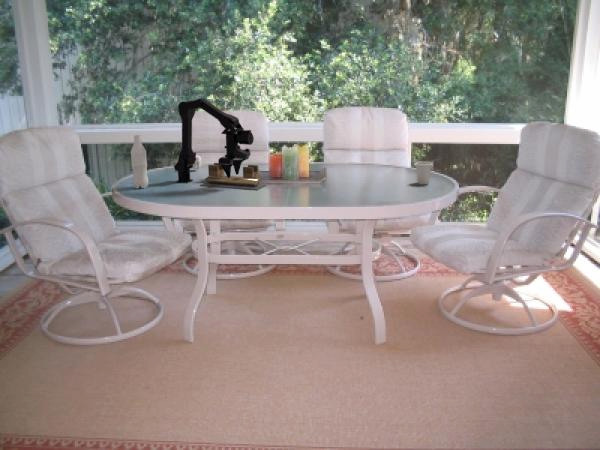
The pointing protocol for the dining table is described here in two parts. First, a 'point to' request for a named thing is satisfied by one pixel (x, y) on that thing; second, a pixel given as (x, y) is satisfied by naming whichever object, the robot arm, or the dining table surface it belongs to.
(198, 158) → the penguin figurine
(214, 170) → the rail stand
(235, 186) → the rubber mat
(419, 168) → the dixie cup
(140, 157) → the water bottle
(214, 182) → the bronze rail
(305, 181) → the dining table surface
